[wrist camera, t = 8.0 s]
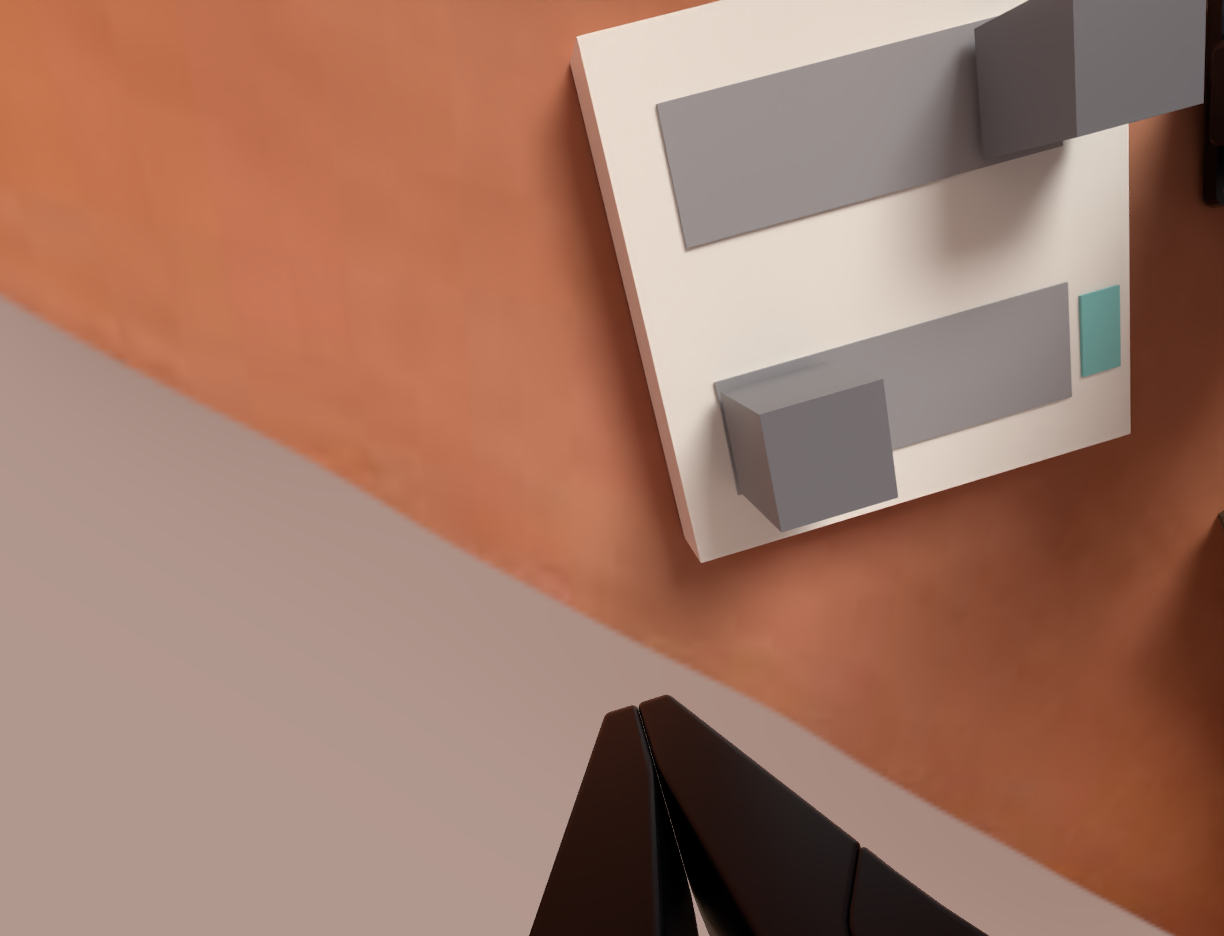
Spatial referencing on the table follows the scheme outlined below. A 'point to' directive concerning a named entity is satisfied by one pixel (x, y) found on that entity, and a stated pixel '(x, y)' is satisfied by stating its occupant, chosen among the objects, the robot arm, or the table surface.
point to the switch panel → (853, 240)
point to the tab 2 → (1085, 68)
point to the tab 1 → (811, 443)
